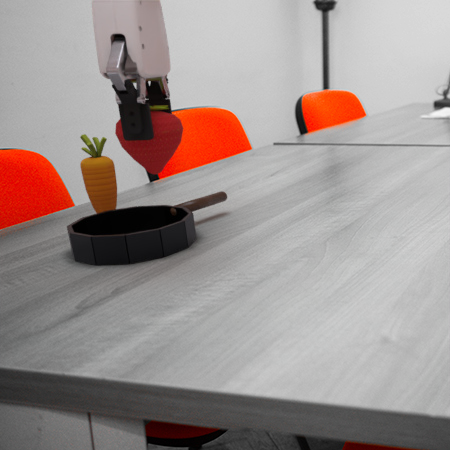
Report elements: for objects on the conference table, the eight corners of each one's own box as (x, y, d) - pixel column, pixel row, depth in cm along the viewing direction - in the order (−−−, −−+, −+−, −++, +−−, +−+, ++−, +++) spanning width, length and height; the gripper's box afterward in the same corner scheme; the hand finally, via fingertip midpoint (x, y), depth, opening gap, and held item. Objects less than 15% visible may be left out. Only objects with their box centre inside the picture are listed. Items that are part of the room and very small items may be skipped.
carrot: (131, 223, 95) (115, 132, 91) (103, 231, 91) (85, 136, 87) (112, 219, 98) (97, 131, 93) (84, 227, 94) (67, 135, 89)
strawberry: (194, 173, 69) (183, 89, 66) (127, 182, 65) (112, 92, 62) (182, 167, 74) (171, 87, 71) (118, 174, 70) (104, 90, 67)
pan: (127, 271, 73) (121, 241, 72) (47, 255, 80) (41, 227, 79) (264, 217, 96) (262, 194, 95) (193, 209, 103) (190, 186, 102)
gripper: (122, -17, 71) (144, 128, 76) (49, -40, 54) (84, 148, 59) (184, -19, 71) (202, 126, 76) (130, -42, 55) (158, 145, 60)
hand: (150, 134), depth 68 cm, fingers closed on strawberry, 6 cm apart
